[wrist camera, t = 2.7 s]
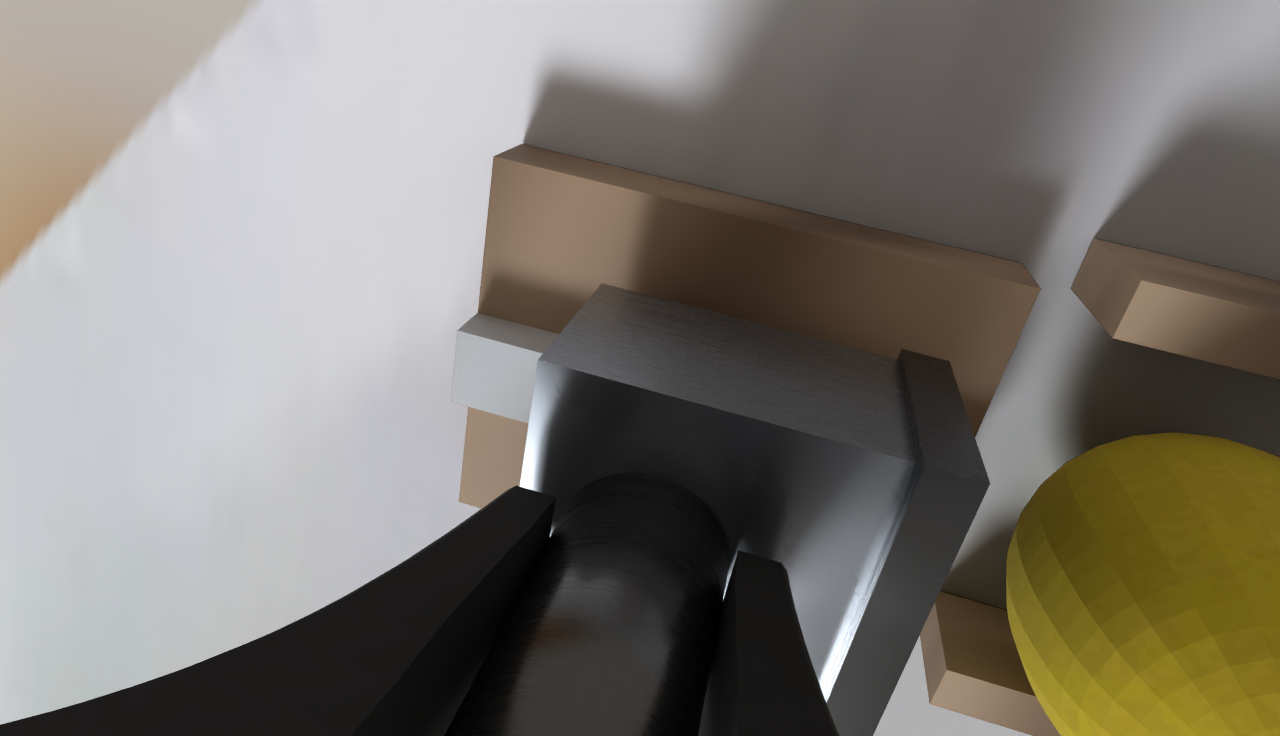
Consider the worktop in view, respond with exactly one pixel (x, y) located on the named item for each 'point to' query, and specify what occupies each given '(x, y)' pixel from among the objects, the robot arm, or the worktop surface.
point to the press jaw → (722, 515)
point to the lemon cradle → (1137, 313)
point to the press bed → (705, 287)
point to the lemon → (1152, 589)
